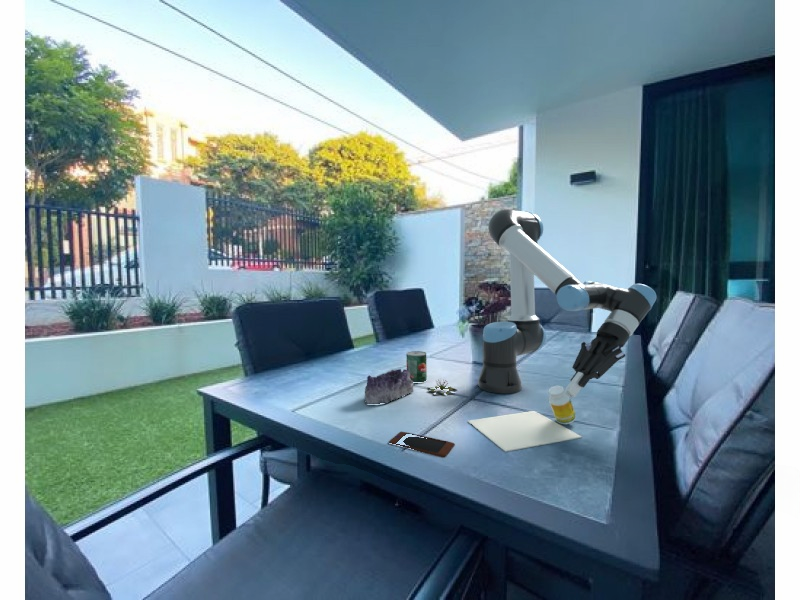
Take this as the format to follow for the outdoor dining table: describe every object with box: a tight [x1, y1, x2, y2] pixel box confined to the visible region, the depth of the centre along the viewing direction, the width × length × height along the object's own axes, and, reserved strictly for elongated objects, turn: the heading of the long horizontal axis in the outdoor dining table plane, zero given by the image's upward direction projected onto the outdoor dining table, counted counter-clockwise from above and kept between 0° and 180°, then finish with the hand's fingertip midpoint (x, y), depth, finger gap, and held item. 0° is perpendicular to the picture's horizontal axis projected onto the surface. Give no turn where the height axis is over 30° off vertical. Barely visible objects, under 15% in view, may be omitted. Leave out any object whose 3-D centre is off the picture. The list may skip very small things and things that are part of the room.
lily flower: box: [427, 379, 456, 395], centre depth 125 cm, size 12×12×5 cm
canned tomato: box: [406, 350, 428, 382], centre depth 138 cm, size 8×8×11 cm
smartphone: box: [388, 431, 456, 459], centre depth 86 cm, size 7×1×15 cm
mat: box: [467, 410, 583, 453], centre depth 93 cm, size 22×18×1 cm
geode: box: [364, 368, 415, 404], centre depth 119 cm, size 20×12×10 cm, turn 144°
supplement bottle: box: [548, 385, 577, 425], centre depth 96 cm, size 5×5×10 cm
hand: (569, 393), depth 95 cm, fingers closed
